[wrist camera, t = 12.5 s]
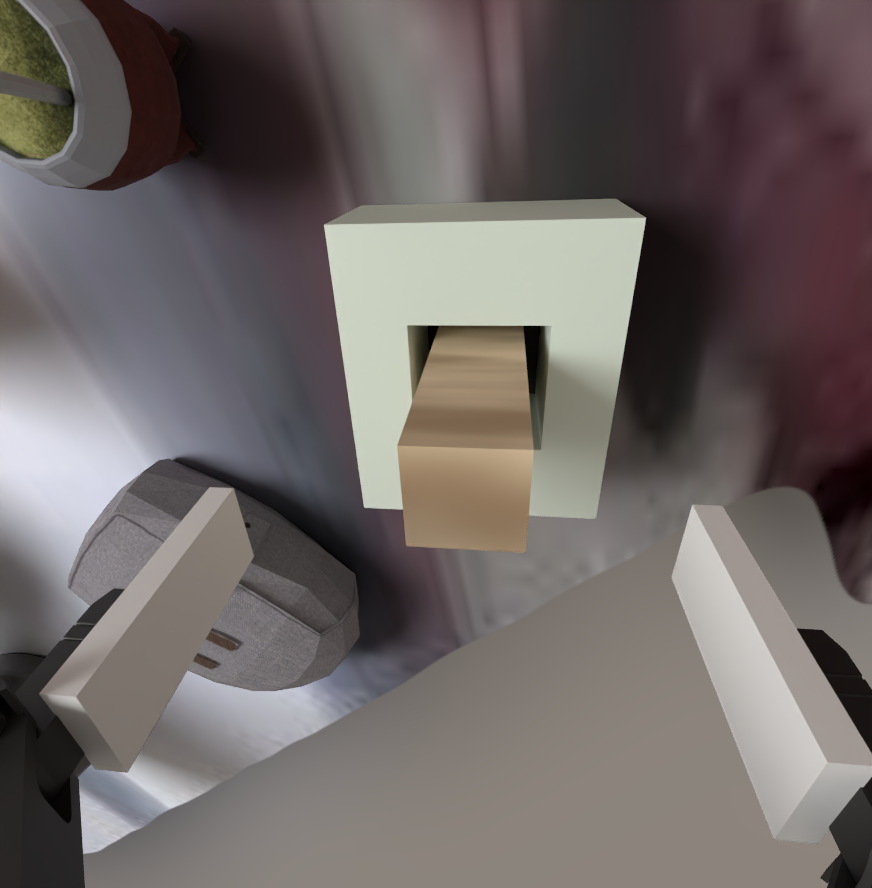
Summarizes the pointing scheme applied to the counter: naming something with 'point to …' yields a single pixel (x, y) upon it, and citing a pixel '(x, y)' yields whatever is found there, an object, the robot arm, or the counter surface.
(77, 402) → the counter surface
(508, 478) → the peg
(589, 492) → the socket block
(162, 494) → the small grey backpack
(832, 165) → the counter surface
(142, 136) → the mate gourd
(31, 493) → the counter surface
